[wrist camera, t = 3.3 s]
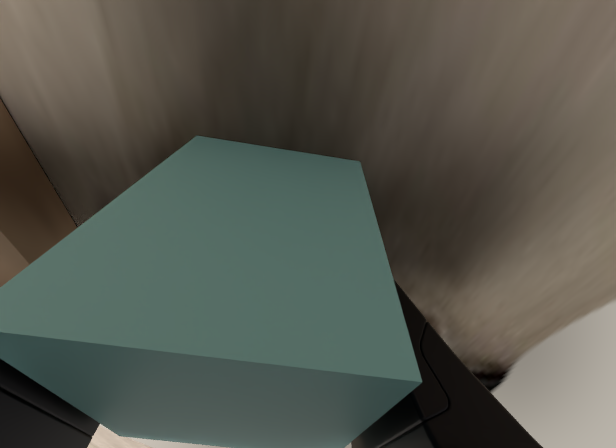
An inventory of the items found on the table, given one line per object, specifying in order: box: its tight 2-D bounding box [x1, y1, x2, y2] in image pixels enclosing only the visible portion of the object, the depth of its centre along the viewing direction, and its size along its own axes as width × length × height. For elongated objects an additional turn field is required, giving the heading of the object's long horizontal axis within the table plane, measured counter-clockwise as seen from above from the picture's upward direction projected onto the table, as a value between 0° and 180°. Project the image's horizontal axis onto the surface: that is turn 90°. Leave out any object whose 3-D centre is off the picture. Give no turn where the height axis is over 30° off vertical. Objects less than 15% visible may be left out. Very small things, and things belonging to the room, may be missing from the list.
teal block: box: [0, 136, 422, 448], centre depth 6 cm, size 5×5×6 cm
